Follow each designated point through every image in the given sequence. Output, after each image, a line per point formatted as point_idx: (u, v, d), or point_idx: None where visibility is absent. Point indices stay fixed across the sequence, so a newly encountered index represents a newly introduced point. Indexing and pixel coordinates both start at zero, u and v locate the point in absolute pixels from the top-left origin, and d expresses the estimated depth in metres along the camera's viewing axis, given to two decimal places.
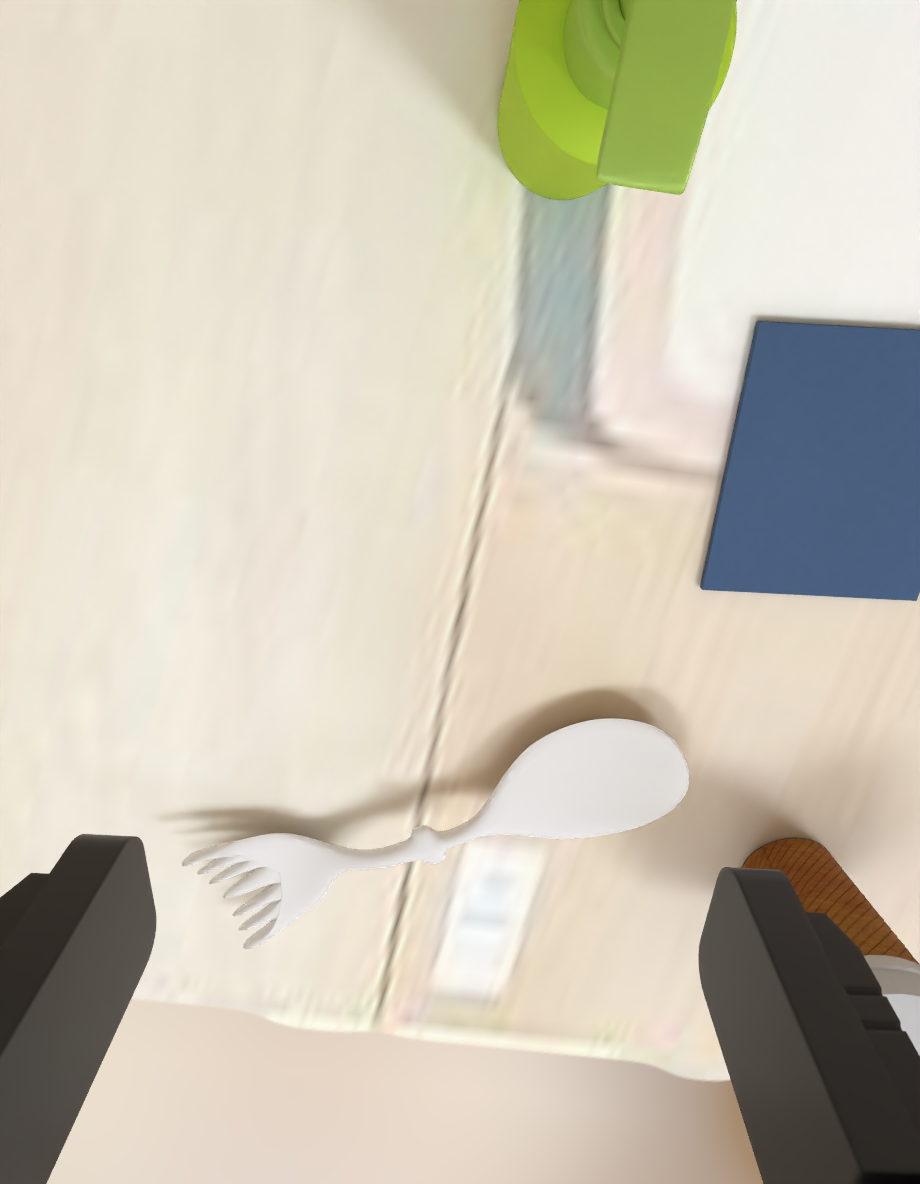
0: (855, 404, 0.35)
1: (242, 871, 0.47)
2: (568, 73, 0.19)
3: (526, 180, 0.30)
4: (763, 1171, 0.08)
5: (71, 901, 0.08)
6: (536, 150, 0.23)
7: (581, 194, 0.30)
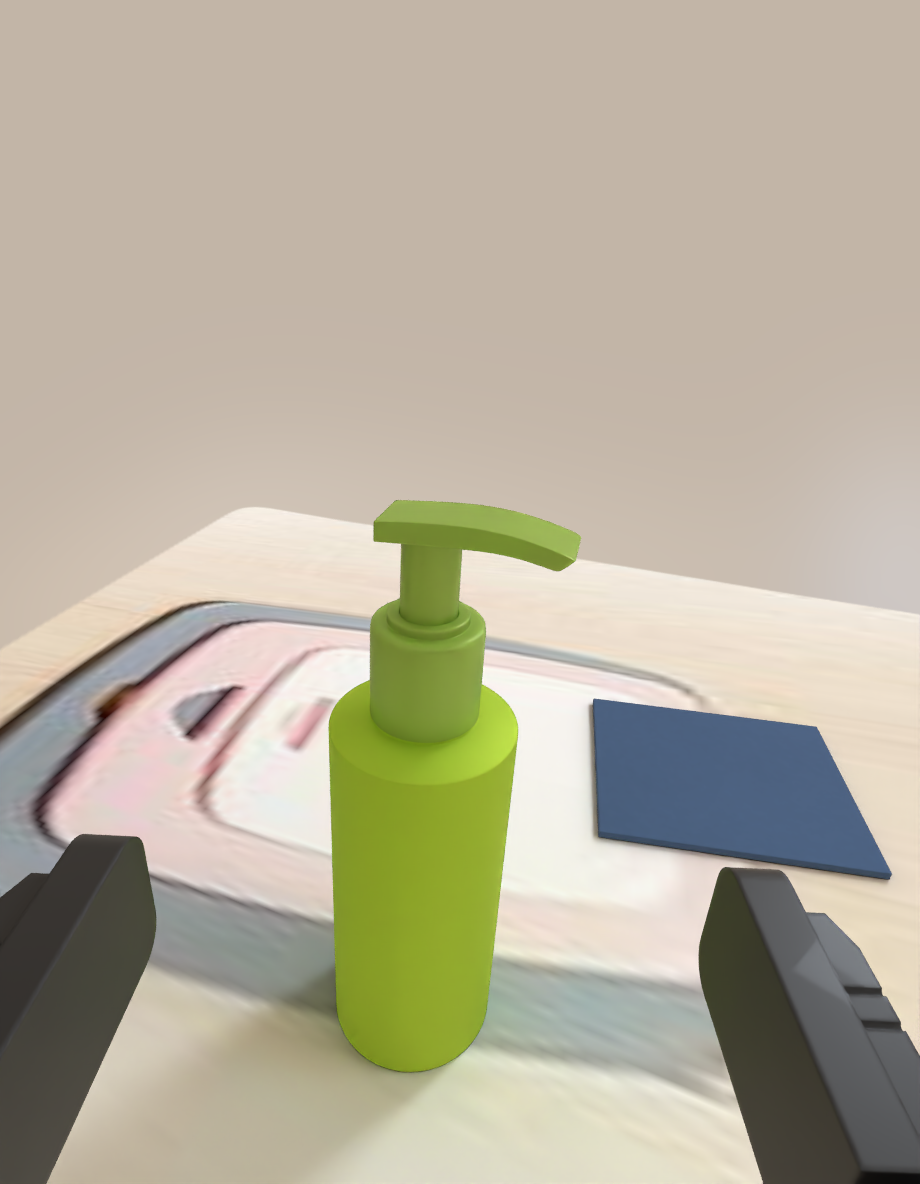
0: (659, 769, 0.41)
1: None
2: (445, 744, 0.21)
3: (472, 1008, 0.25)
4: (762, 1171, 0.08)
5: (71, 901, 0.08)
6: (481, 852, 0.22)
7: None
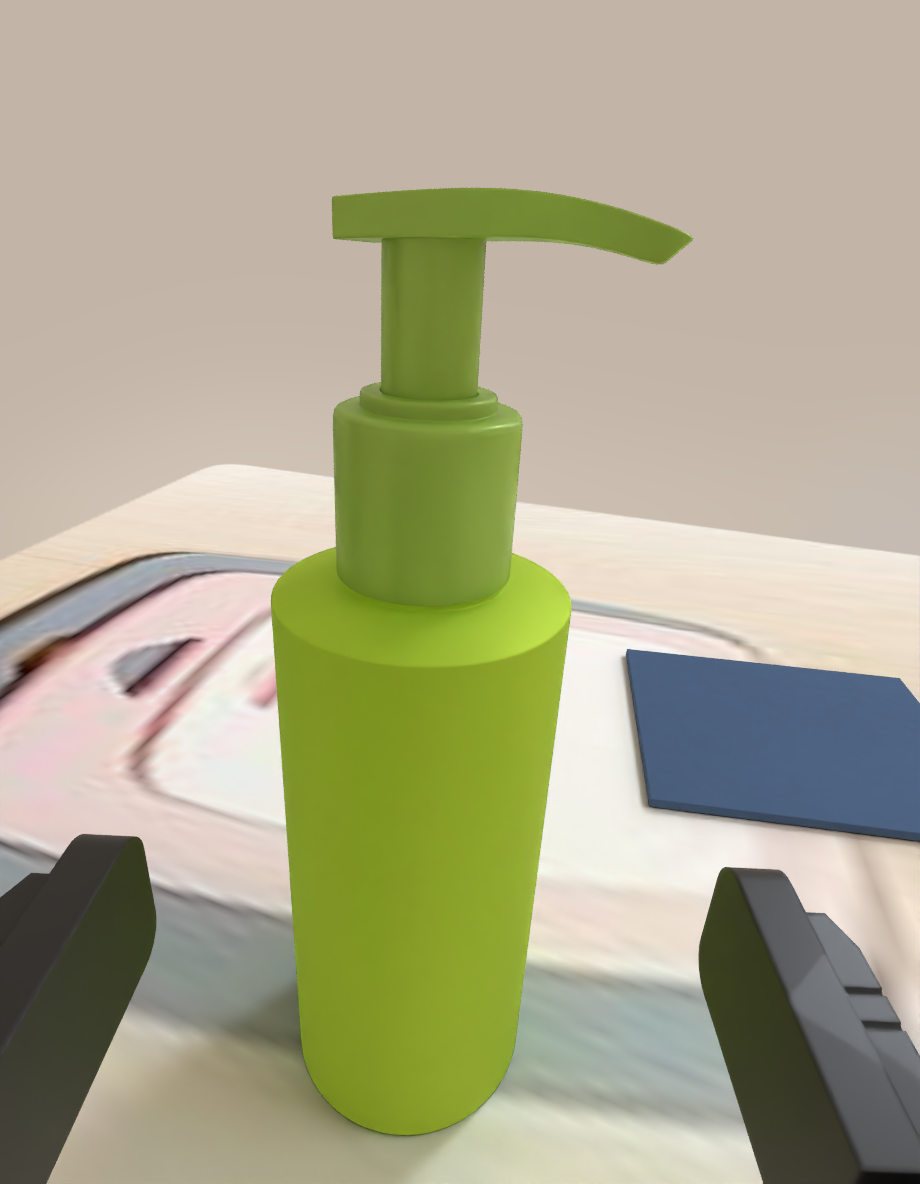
0: (717, 726, 0.32)
1: None
2: (457, 610, 0.13)
3: (498, 1038, 0.17)
4: (763, 1170, 0.08)
5: (71, 901, 0.08)
6: (517, 792, 0.14)
7: None
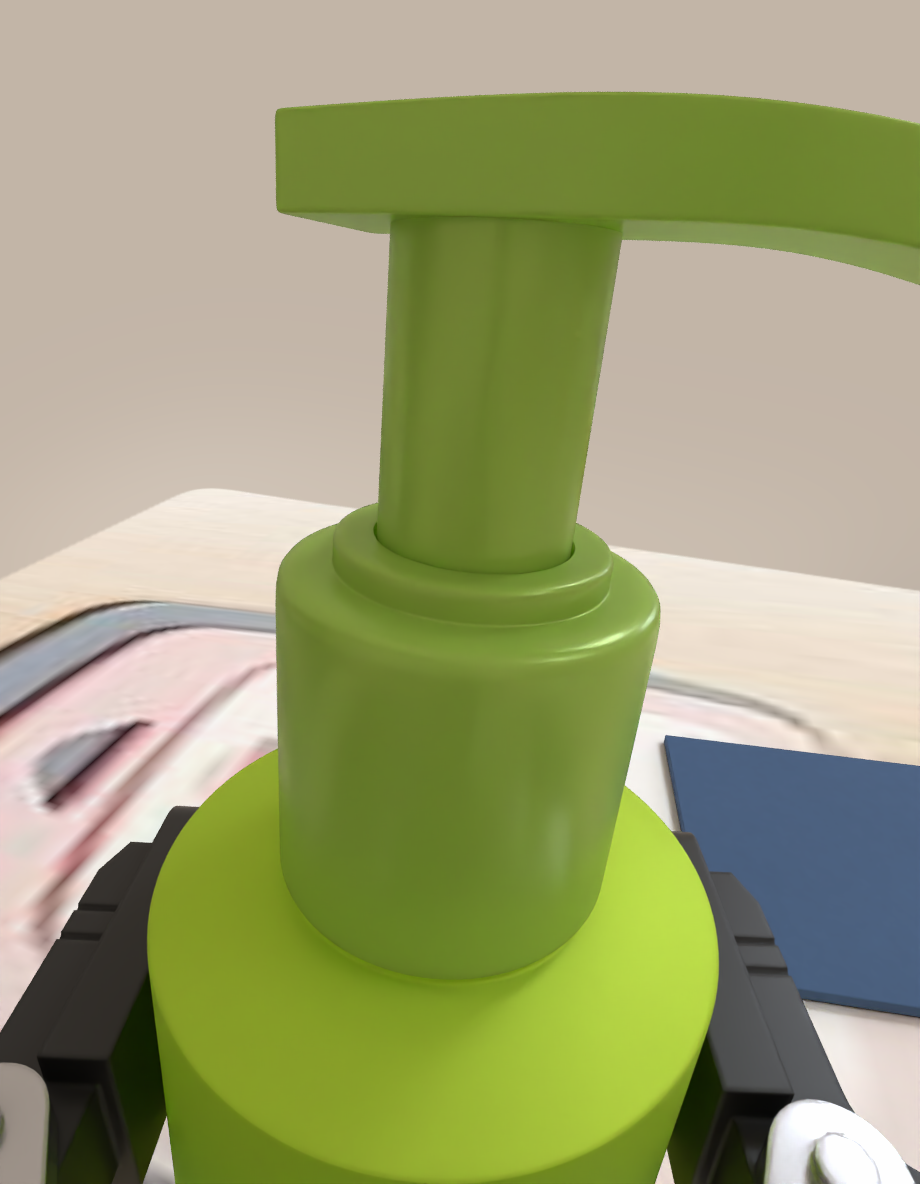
0: (787, 852, 0.26)
1: None
2: (515, 979, 0.06)
3: None
4: None
5: None
6: None
7: None
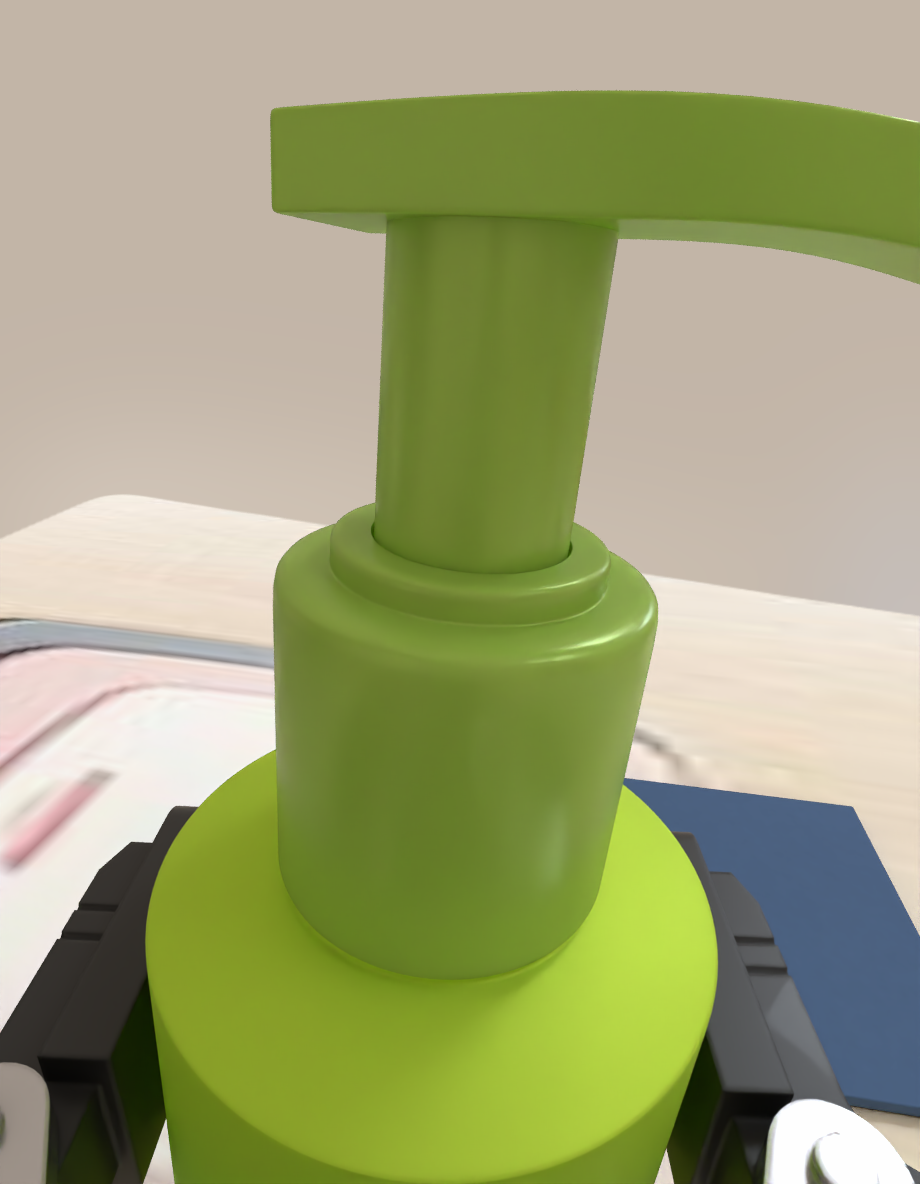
0: None
1: None
2: (513, 980, 0.06)
3: None
4: None
5: None
6: None
7: None
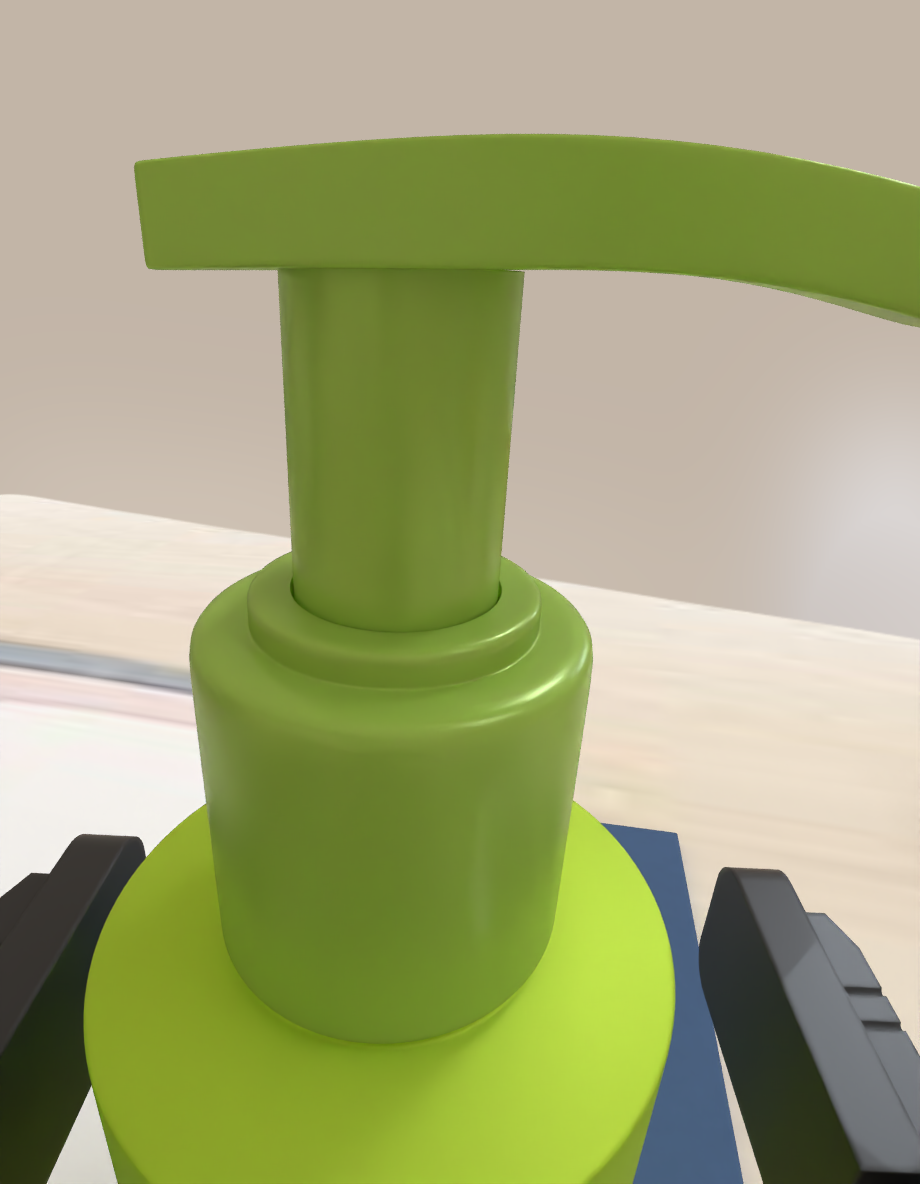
0: None
1: None
2: (455, 1039, 0.06)
3: None
4: (762, 1171, 0.08)
5: (71, 901, 0.08)
6: None
7: None
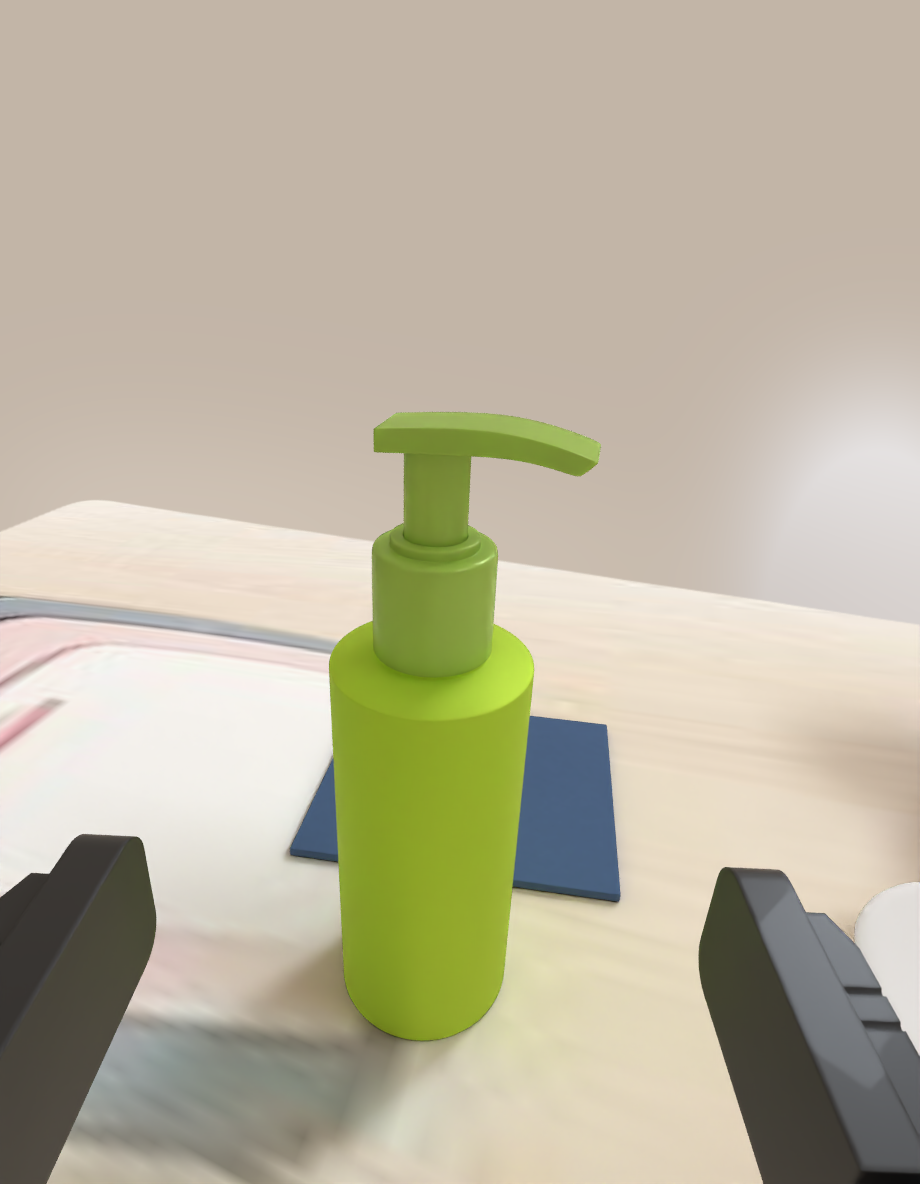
0: None
1: None
2: (456, 679, 0.19)
3: (489, 970, 0.24)
4: (763, 1171, 0.08)
5: (71, 901, 0.08)
6: (498, 797, 0.20)
7: None
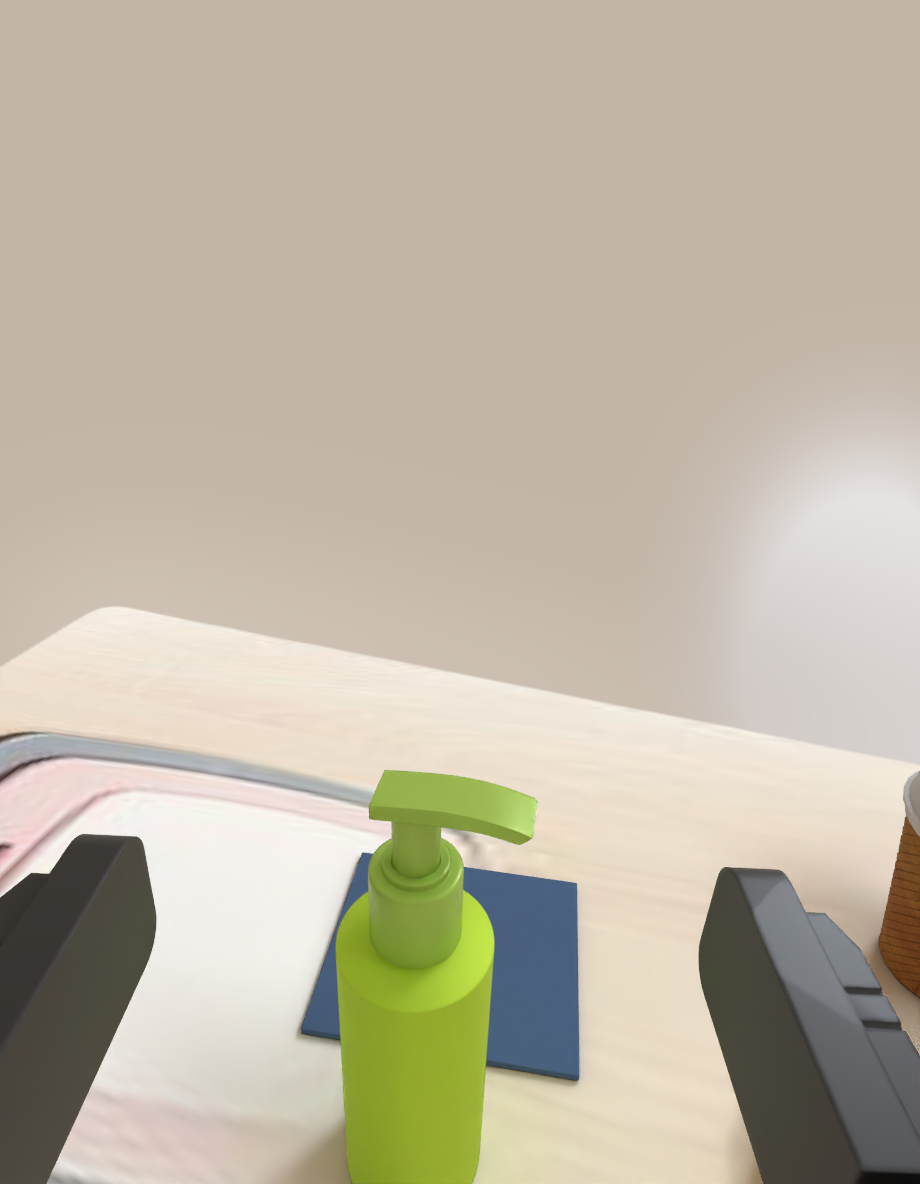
0: None
1: None
2: (434, 967, 0.25)
3: (467, 1165, 0.29)
4: (763, 1170, 0.08)
5: (71, 901, 0.08)
6: (468, 1049, 0.26)
7: None
